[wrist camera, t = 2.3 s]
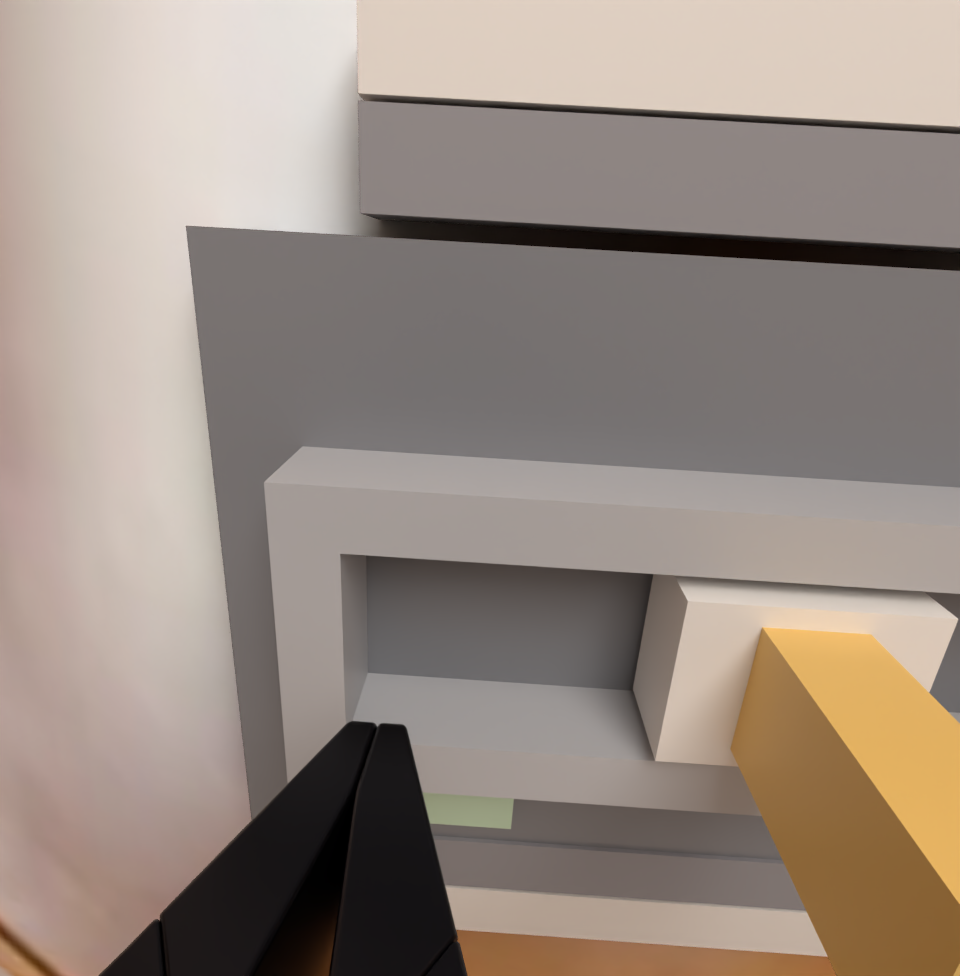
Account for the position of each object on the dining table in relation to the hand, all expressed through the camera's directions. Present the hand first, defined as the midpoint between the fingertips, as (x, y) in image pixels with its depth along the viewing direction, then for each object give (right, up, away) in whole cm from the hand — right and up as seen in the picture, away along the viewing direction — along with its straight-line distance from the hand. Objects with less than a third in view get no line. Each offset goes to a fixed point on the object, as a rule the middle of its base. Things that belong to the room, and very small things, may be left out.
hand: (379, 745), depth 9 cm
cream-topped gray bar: (+8, +10, +2) cm, 13 cm away
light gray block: (+7, -6, +8) cm, 12 cm away
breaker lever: (+7, +1, +4) cm, 8 cm away
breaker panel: (+7, +1, +5) cm, 9 cm away
